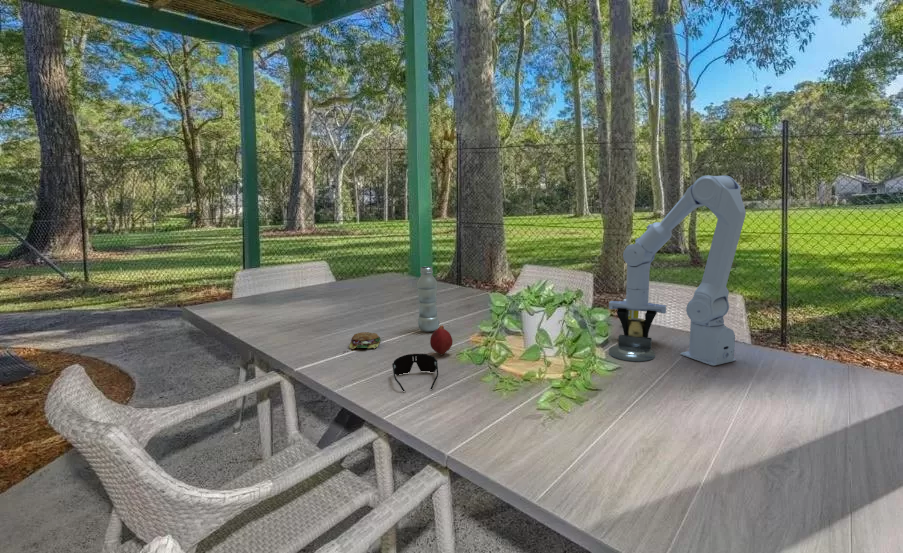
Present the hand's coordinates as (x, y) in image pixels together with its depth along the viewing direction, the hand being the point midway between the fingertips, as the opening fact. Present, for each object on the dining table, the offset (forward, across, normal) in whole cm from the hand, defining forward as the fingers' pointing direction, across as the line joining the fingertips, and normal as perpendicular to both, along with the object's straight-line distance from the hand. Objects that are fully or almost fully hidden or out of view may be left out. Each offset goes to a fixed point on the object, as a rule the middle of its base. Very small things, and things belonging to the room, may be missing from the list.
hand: (636, 336), depth 135 cm
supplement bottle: (+2, +4, -14) cm, 15 cm away
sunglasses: (+2, +40, +50) cm, 64 cm away
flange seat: (+1, -1, +12) cm, 12 cm away
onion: (+2, +44, +32) cm, 54 cm away
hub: (+1, 0, 0) cm, 1 cm away
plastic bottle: (+2, +59, +14) cm, 60 cm away
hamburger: (+2, +68, +35) cm, 77 cm away
